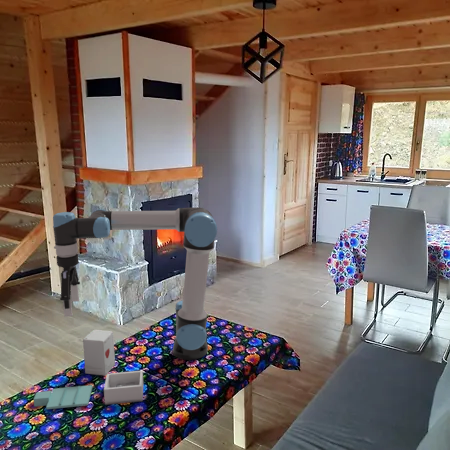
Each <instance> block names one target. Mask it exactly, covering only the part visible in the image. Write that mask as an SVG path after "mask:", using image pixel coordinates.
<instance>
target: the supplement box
mask: <svg viewBox="0 0 450 450" xmlns="http://www.w3.org/2000/svg"><path fill="white" fill-rule="evenodd" d="M82 345H83V360H84V371H85V372H84V373H85V374H87V375H88V374H89V375H97V376H106V377H107V374H109V372H110V371H111V370H112V369H113V368H114V366H115V365H116V355H115V341H114V331H111V330H101V329H93V330H92V331H91V332H90V333H89V332H88V334H87V335H86V336H85V337H84V338H83V339H82Z"/></svg>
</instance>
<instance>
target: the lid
mask: <svg viewBox="0 0 450 450" xmlns="http://www.w3.org/2000/svg"><path fill="white" fill-rule="evenodd" d="M92 391H93V384H90V385H78V386H69V387H68V386H66V387H59V388H58V387H56V388H53V390H46V391H38V392H37V391H36V393H35V395H34V398H33V406H34V407H43V406H45V409H46V410H52V409H63V408H73V407H74V408H75V407H83V406H88V405H89V403H90V400H91V399H90V398H91V395H92Z"/></svg>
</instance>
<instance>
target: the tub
mask: <svg viewBox="0 0 450 450" xmlns="http://www.w3.org/2000/svg"><path fill="white" fill-rule="evenodd" d="M103 395H104V405H105V406H107V405H115V404H126V403H134V402H135V403H136V402H143V399H144V371H143V370H134V371H133V370H132V371H124V372H112V373H107V374H106V377H105V382H104V386H103Z"/></svg>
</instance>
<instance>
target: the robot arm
mask: <svg viewBox="0 0 450 450" xmlns="http://www.w3.org/2000/svg"><path fill="white" fill-rule="evenodd" d="M52 228H53V237H54V244H55V246H53V249H55V254H56V265H57V267H59V268H62V269H63V270H62V271H61V273H60V277H61V278H60V280H61V281H60V282H61V284H60V286H61V287H60V291H61V292H60V298H59V301H62V304H63V305H62V308H63V315H64V317H72V316H73V308H72V307H73V306H72V305H73V304H72V302H75V303H76V302H80V291H79V285H81V282H80V279H79V276H78V270H77V267H76V266H77V265H78V264H79V254H78V253H79V250H78V239H80V240H81V239H102V238H103V239H104V238H108V237H109V236H110V233H111V231H122V230H123V231H124V230H127V231H128V230H131V231H137V230H141V231H142V230H143V231H144V230H147V231H148V230H149V231H151V230H154V231H156V230H175V231H177V232H179V233H181V232H182V233H184V234H183V244H182V246H183V247H184V249H185V250H186V256H185V257H186V258H185V270H184V281H183V292H182V293H183V294H182V300H180V301H177V302H176V303H175V308H174V310H175V332H176V333H175V338H174V339H175V340H174V342H173V346H172V353H173V355H174V357H176V358H177V359H180V360H184V361H185V360H186V361H193V360H198V359H201V358H203V357H205V356H206V355H207V354H208V353H209V352H208V351H209V349H208V347H209V346H208V342H207V336H208V334H207V333H208V332H207V321H208V312H207V311H206V310H205V303H206V302H205V301H206V291H207V280H208V271H209V270H208V269H209V261H210V259H209V258H210V253H211V252H212V250H214V248H215V239H216V237H217V234H218V226H217V222H216V220H215V219H214V216H213V215H212V213H211V212H210V211H209V210H208V209H206V208H205V207H198V206H197V207H179V208H177V209H176V210H113V211H112V210H111V211H110V210H105V209H97V210H94V211H92V213H91V214H90V215H89V216H88V217H80V218H79V217H76V215H75V213H74V212H70V211H62V212H58V213H55V214H54V215H53V216H52Z"/></svg>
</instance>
